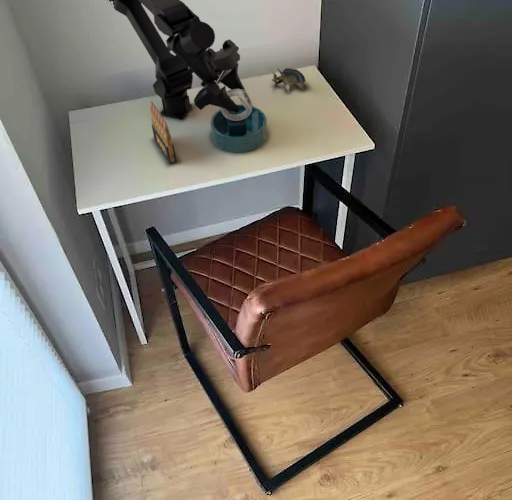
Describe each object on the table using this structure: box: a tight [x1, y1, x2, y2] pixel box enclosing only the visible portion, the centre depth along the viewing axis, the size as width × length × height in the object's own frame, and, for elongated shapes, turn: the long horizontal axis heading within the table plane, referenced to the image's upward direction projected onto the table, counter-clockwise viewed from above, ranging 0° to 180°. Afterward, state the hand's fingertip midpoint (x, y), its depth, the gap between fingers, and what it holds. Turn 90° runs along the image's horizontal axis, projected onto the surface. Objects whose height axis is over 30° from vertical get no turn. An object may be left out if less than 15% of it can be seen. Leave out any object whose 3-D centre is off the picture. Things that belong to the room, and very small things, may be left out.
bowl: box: [210, 103, 268, 154], centre depth 145 cm, size 14×14×4 cm
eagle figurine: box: [271, 66, 308, 93], centre depth 158 cm, size 8×7×9 cm
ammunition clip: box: [149, 100, 178, 165], centre depth 139 cm, size 11×2×12 cm, turn 27°
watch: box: [219, 88, 254, 136], centre depth 141 cm, size 6×8×11 cm
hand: (242, 104), depth 140 cm, fingers closed on watch, 6 cm apart
